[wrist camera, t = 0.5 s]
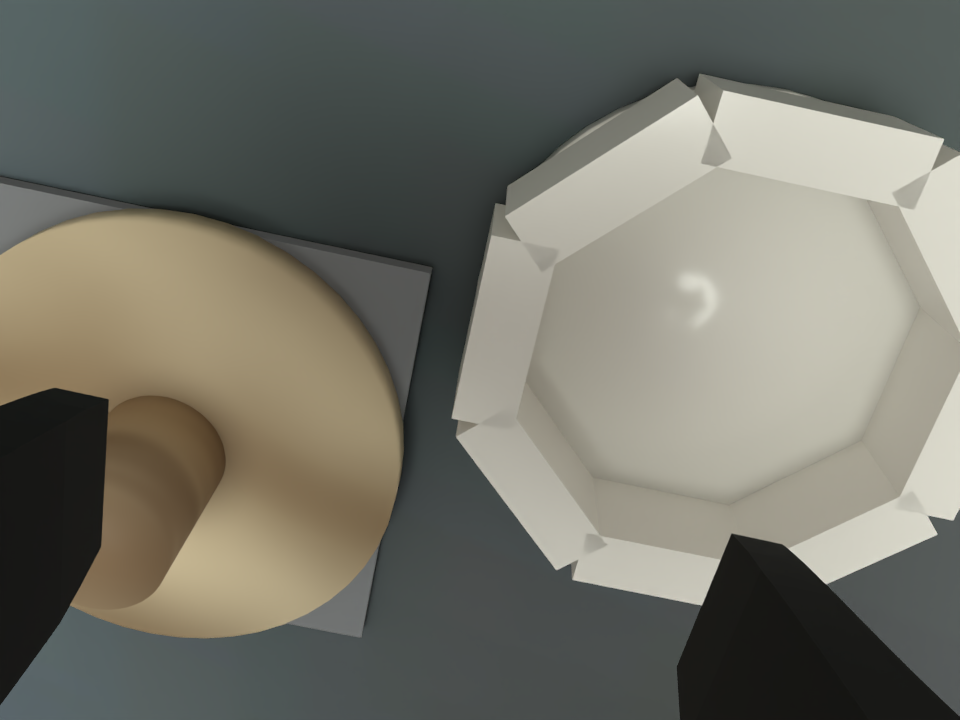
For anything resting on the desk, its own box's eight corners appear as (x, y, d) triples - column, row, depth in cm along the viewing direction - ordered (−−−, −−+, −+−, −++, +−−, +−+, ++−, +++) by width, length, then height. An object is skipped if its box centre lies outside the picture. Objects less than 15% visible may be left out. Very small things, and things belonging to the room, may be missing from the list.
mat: (364, 627, 23) (360, 637, 23) (-24, 552, 23) (-33, 562, 22) (432, 267, 19) (431, 273, 19) (-40, 168, 19) (-51, 172, 18)
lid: (367, 645, 23) (332, 795, 19) (-40, 566, 22) (-166, 702, 18) (441, 266, 19) (417, 353, 15) (-61, 160, 18) (-231, 220, 14)
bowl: (844, 555, 22) (890, 642, 19) (436, 473, 21) (423, 550, 18) (1034, 144, 17) (1128, 179, 15) (531, 33, 17) (532, 48, 14)
